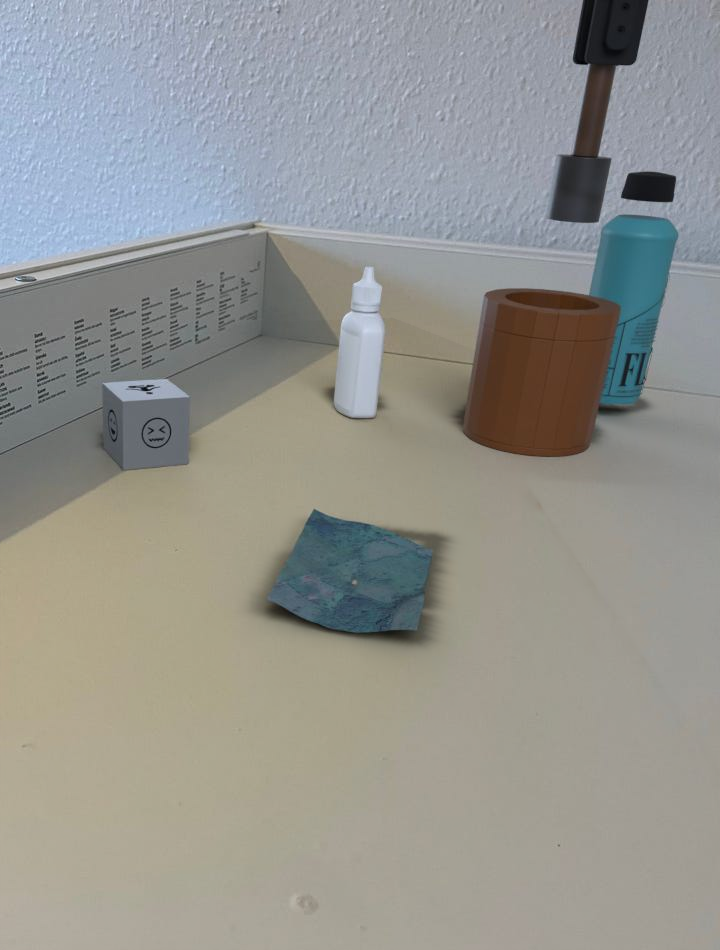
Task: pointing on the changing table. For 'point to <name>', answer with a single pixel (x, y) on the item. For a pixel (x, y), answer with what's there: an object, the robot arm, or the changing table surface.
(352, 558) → the terrain model
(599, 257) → the beverage bottle
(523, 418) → the brown wooden cup
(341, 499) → the changing table surface
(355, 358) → the eye dropper bottle
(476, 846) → the changing table surface
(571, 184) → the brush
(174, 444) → the dice cube
